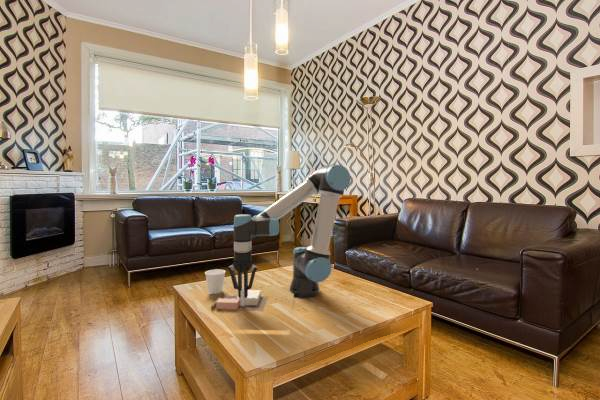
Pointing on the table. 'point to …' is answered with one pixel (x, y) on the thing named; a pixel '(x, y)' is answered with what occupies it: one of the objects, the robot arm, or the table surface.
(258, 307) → the board
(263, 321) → the table surface
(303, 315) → the table surface
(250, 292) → the cream flat block
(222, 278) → the cup
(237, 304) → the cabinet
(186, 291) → the table surface
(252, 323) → the table surface
